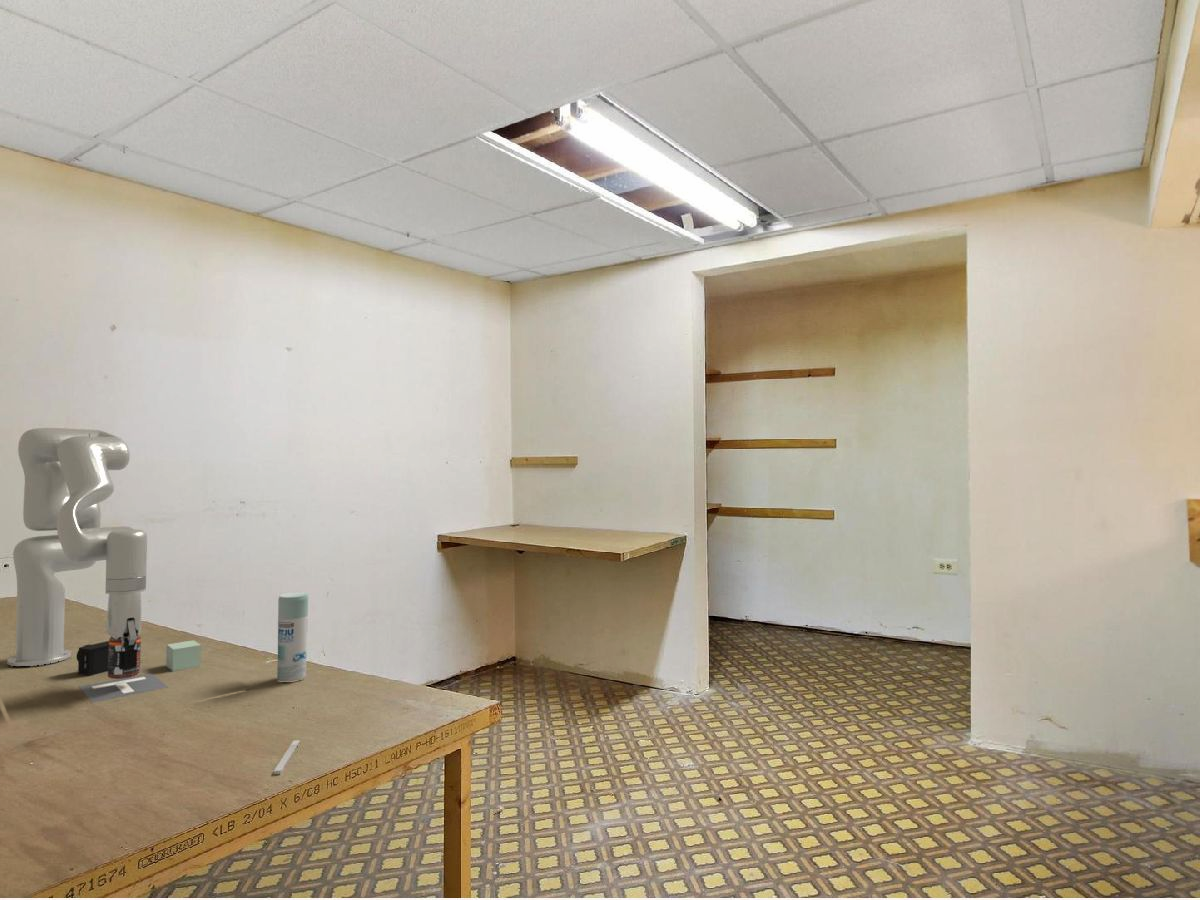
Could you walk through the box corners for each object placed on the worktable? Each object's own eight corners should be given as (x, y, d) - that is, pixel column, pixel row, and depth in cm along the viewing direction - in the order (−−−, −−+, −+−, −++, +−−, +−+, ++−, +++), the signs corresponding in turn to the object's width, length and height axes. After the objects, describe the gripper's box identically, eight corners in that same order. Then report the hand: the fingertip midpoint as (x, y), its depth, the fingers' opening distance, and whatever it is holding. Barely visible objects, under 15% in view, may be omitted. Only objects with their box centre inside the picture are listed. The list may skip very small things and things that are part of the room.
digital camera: (119, 664, 172) (120, 636, 172) (133, 667, 170) (134, 638, 170) (74, 676, 162) (75, 646, 162) (89, 679, 160) (89, 649, 160)
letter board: (79, 689, 153) (79, 686, 153) (151, 675, 163) (151, 673, 163) (91, 705, 143) (91, 702, 143) (168, 689, 153) (168, 687, 153)
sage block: (166, 668, 169) (166, 644, 169) (193, 663, 173) (193, 640, 173) (172, 674, 165) (173, 649, 165) (200, 669, 169) (201, 644, 169)
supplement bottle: (123, 680, 150) (124, 629, 150) (100, 678, 151) (102, 627, 151) (146, 672, 156) (147, 623, 156) (124, 670, 157) (125, 621, 157)
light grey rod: (280, 776, 114) (280, 770, 114) (273, 777, 114) (273, 770, 114) (299, 745, 126) (300, 740, 126) (293, 745, 126) (293, 740, 126)
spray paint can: (312, 676, 164) (314, 593, 164) (290, 684, 158) (291, 598, 158) (293, 672, 167) (295, 591, 167) (270, 680, 161) (272, 595, 161)
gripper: (97, 581, 157) (95, 660, 157) (114, 592, 145) (112, 677, 145) (136, 577, 162) (134, 653, 162) (155, 588, 150) (153, 669, 150)
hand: (124, 664), depth 153 cm, fingers closed on supplement bottle, 6 cm apart
